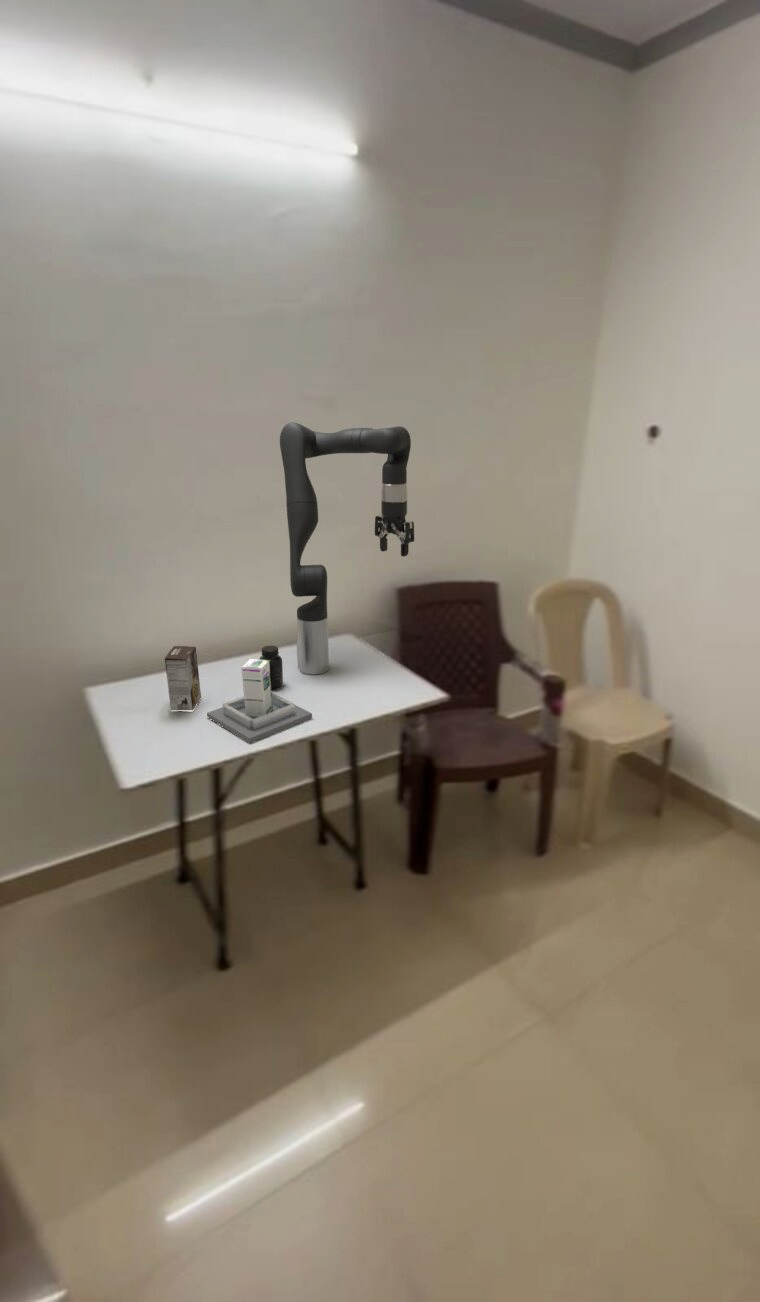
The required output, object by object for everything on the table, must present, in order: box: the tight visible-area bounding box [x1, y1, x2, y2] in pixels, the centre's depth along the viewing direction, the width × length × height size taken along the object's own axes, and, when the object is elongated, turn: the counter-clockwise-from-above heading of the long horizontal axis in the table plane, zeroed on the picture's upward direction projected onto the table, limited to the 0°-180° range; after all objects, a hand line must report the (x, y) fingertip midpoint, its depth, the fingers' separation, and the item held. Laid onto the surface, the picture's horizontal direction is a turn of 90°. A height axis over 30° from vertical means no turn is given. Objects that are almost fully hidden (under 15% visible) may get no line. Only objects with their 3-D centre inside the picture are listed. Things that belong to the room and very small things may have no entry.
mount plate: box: [206, 704, 313, 744], centre depth 196 cm, size 20×20×2 cm
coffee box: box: [164, 645, 202, 711], centre depth 200 cm, size 9×6×16 cm
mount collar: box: [222, 692, 296, 730], centre depth 195 cm, size 14×14×2 cm
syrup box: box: [241, 658, 273, 717], centre depth 193 cm, size 6×6×14 cm
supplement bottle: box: [259, 645, 284, 691], centre depth 213 cm, size 7×7×12 cm
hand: (394, 553), depth 217 cm, fingers open, 8 cm apart
